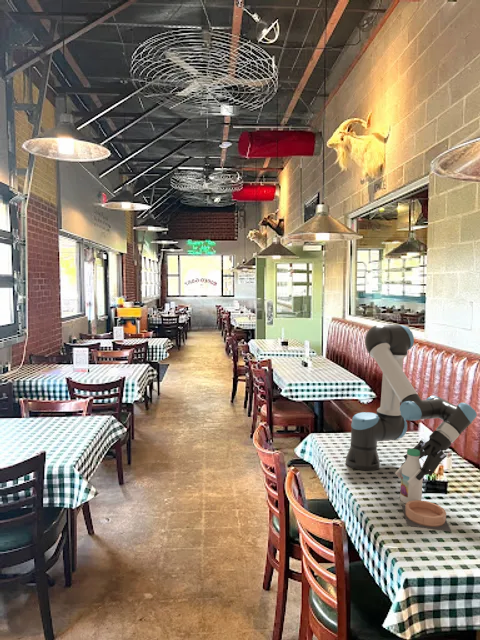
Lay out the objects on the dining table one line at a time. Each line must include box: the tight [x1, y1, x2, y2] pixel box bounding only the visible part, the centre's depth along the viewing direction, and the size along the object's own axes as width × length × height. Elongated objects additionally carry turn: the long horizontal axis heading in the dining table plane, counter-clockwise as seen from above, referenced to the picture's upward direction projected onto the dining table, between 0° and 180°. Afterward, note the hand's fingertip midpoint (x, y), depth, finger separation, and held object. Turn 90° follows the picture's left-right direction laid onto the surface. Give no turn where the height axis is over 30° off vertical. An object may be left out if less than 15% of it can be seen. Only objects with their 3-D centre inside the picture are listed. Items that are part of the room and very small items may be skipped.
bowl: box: [404, 499, 447, 527], centre depth 163 cm, size 13×13×3 cm
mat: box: [400, 504, 453, 532], centre depth 163 cm, size 14×16×1 cm
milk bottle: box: [399, 448, 424, 504], centre depth 176 cm, size 8×8×20 cm
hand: (403, 479), depth 175 cm, fingers closed on milk bottle, 7 cm apart
